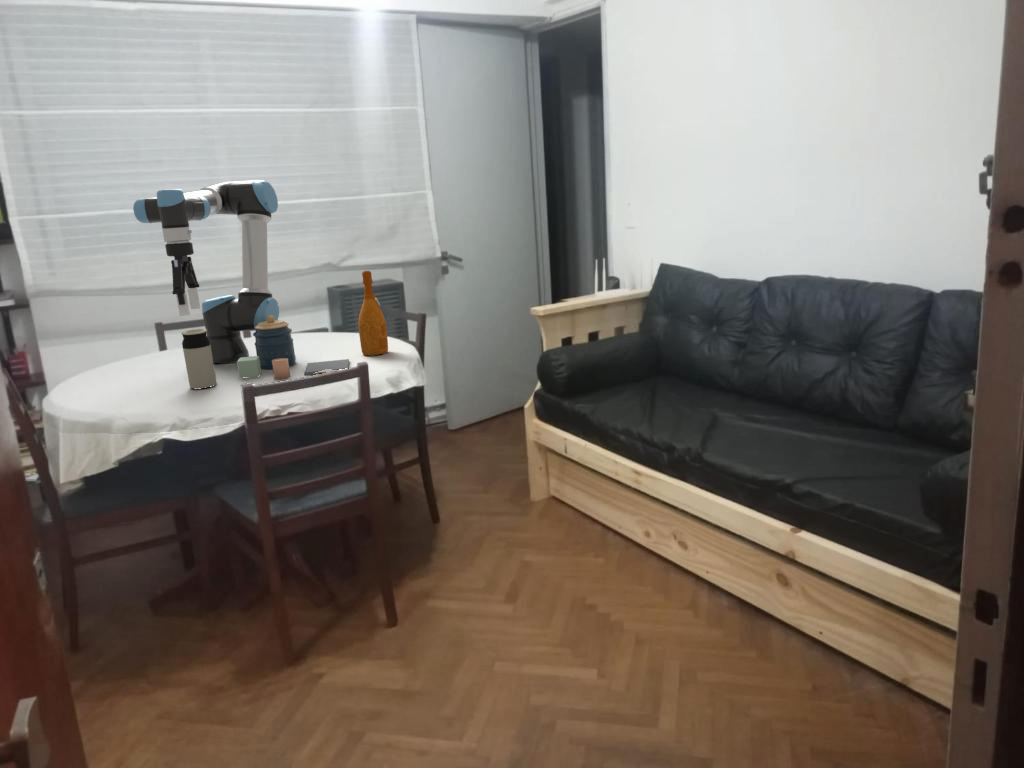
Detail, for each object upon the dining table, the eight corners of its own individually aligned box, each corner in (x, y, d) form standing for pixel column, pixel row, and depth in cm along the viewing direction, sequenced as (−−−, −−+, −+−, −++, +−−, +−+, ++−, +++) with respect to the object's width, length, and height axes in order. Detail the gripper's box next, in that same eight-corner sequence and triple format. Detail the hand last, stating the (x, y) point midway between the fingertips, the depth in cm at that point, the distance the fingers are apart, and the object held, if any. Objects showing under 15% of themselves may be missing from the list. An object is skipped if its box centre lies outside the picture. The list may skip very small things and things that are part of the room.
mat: (308, 365, 250) (307, 362, 250) (349, 361, 252) (349, 359, 252) (304, 375, 237) (304, 372, 236) (348, 371, 239) (347, 368, 239)
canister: (304, 362, 256) (297, 313, 251) (275, 371, 245) (267, 319, 241) (279, 359, 263) (272, 311, 258) (250, 367, 252) (242, 317, 248)
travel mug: (222, 383, 232) (213, 328, 227) (203, 390, 225) (193, 333, 220) (203, 382, 235) (194, 328, 230) (184, 389, 228) (174, 333, 223)
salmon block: (275, 376, 238) (272, 358, 236) (291, 375, 238) (288, 357, 237) (273, 380, 233) (270, 362, 231) (289, 378, 234) (286, 360, 232)
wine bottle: (382, 356, 257) (373, 272, 250) (356, 356, 260) (347, 272, 252) (393, 350, 267) (385, 268, 259) (369, 350, 269) (360, 269, 261)
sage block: (243, 374, 243) (240, 357, 241) (261, 373, 244) (258, 355, 242) (239, 379, 237) (237, 361, 236) (258, 377, 238) (256, 359, 237)
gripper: (181, 243, 207) (193, 317, 212) (200, 239, 230) (211, 305, 236) (153, 245, 205) (166, 319, 211) (176, 240, 229) (187, 307, 235)
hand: (190, 312), depth 223 cm, fingers open, 13 cm apart
